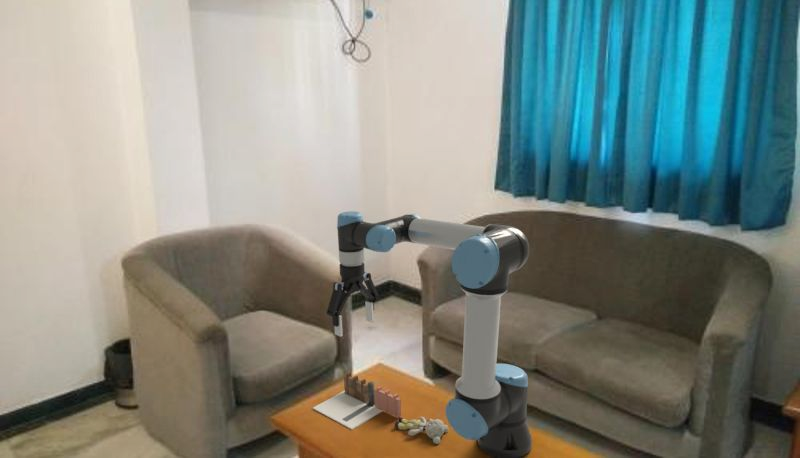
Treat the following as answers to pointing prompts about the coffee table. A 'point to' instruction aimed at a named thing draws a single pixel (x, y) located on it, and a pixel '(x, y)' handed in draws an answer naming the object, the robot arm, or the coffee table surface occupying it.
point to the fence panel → (387, 401)
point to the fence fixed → (359, 389)
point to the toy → (423, 427)
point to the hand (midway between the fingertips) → (354, 328)
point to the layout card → (347, 410)
